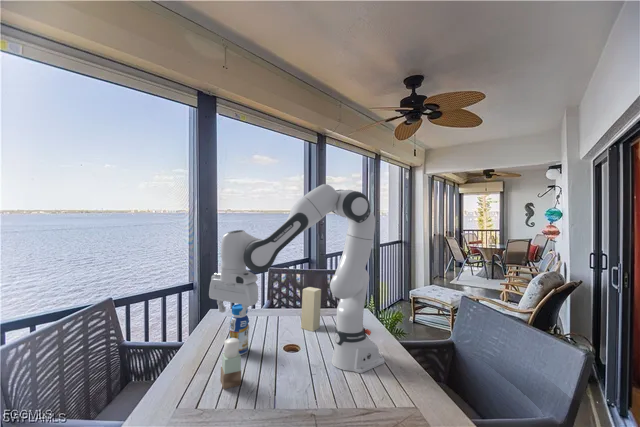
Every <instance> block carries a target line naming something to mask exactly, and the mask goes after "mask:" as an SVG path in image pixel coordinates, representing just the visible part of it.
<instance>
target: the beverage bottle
mask: <svg viewBox="0 0 640 427" xmlns="http://www.w3.org/2000/svg"><path fill="white" fill-rule="evenodd" d="M242 309H243V307H242V304H237V303H235V304H233V305H232V307H231V315H232V316H231V318H230V320H229V329H228V330H229V338H237V339H239V354H240V356H241V355H244V354H247V353H248V351H249V330H250V325H249V323H250V320H249V316H248V312H249V311H248V310H249V308H248V309H247V311H246V316H245V317H240V316H239V315H240V314H239V312H240V311H242Z"/></svg>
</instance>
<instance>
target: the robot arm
mask: <svg viewBox="0 0 640 427" xmlns="http://www.w3.org/2000/svg"><path fill="white" fill-rule="evenodd" d="M331 212H332V213H333V214H336V215H338V216H340V217H342V218H346V219H347V221H348V222H347V223H348V226H347V230H346V236H345V241H344V246H343V251H342V255H341V257H340V259H339V262H338V264H337V268H336V269H335V273H334V274H333V276H332V278H331V280H330V283H329V289H330V292H331V294H332V295H333V296H334V297H335V298H337V299H339V301H338V302H339V303H338V304H337V307H336V324H335V325H336V326H335V327H334V328H335V330H334V348H333V354H332V357H331V361H330V362H331V364H332V365H333V366H334V367H335V368H338V369H340V370H341V371H343V370H344V371H348V372H349V371H350V372H354V373H357V374H362V373H366V372H367V371H370V370H373V368H376V367H378V366H381V365H383V364H385V361H386V360H385V358H384V357H383V356H382V354H380V352H379V347H378V345H377V344H376V343H375V342H374V341H373V340H371V339H370V338H369V337H368V336H371V334H372V331H371V330H370V329H368V328H365V327H364V311H365V310H364V309H365V303H366V299H367V293H368V285H369V282H370V274H369V272H368V271H367V269H366V266H367V264H368V261H369V259H370V258H371V257H370V256H371V253H372V252H371V251H372V248H373V242H374V238H375V232H376V231H375V230H376V217H375V215H374V213H373V212H372V211H371V205H370V200H369V198H368V196H367V195H366V194H365V193H363V192H361V191H356V190H352V189H335V188H334V187H333V186H332V185H330V184H326V183H323V184H320V185H318V186H317V187H315V188H313V189H311V190H310V191H309V192H307V193H306V194H305V195H303V196H302V197H301V198H300V199H298V200H297V201H296V203H295V204H294V205H293V206H292V207H291V208H290V211H289V214H288V216H287V219H286V220H285V221H284V223H282V224H281V225H280V226H279V227H278V228H277V229H276V230H275V231H273V232H272V233H271V234H270V235H269V236H267V237H266V238H265V239H261V238H259V237H255V236H253V235H251V234H249V233H247V232H246V231H245V230H243V229H238V230H231V231H227V232H226V233H224V235H222V238H221V242H220V244H221V245H220V258H221V264H220V269H219V270H220V271H219V273H218V272H215V273H213V274H212V275H211V277H210V283H209V288H208V290H209V291H208V296H209V299H212V300H215V301H216V304H217V306H218V309H219V310H218V312H219V313H225V312H226V311H227V310H226V309H227V307H226V306H225V305H224V302H227V303H231V304H232V303H233V304H242V307H243V309H242V311H240V312H239V314H240V315H239V316H240V317H245V316H246V315H247V314H246V311H247V309H248V310H249V307H252V306H254V305H257V303H258V301H259V287H258V284H257V281H258V276H257V275H256V274H254V273H253V272H255V273H262V272H266V271H267V270H268V269H270V268H271V267H272V266H273V264H274V263H275V261H276V259H277V257H278V254H279V253H280V252H281V251H282V250H283V249H284V248H285V247H286V246H288V245H289V243H291V242H293V241H294V239H295V238H297V237H298V236H299V235H300V234H301V233H304V232H305V231H306V230H308V229H310V228H312V227H313V226H314V225H317V223H319V221H321V220H323V218H325V216H327V215H328V214H330V213H331ZM247 268H248V269H249V270H250V271H249V270H247ZM251 271H252V272H251Z"/></svg>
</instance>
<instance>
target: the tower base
mask: <svg viewBox="0 0 640 427" xmlns="http://www.w3.org/2000/svg"><path fill="white" fill-rule="evenodd" d="M219 380H220V383H221V387H222V389H223V390H226V389H230V388H235V387H239V386H241V385H242V370H241V371H238V372H233V373H228V374H224V371H223V368H222V366H220V378H219Z"/></svg>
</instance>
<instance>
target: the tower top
mask: <svg viewBox="0 0 640 427" xmlns="http://www.w3.org/2000/svg"><path fill="white" fill-rule="evenodd" d="M221 355H222V356H221V367H222V368H223V371H224V374H228V373H233V372H238V371H241V372H242V370H241V369H242V367H241V366H242V356H241V355H240V354H239V355H238V356H237V357H235V358H226V357H224V352H222V354H221Z"/></svg>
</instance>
